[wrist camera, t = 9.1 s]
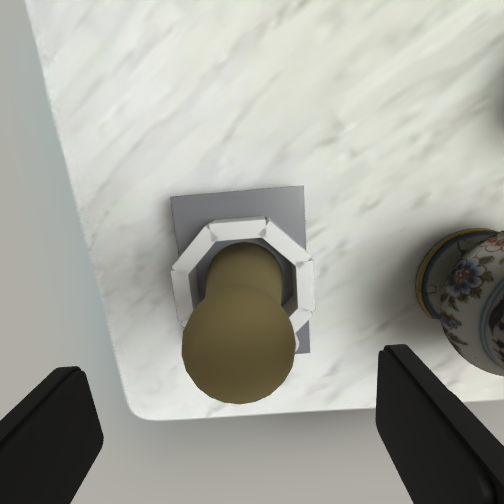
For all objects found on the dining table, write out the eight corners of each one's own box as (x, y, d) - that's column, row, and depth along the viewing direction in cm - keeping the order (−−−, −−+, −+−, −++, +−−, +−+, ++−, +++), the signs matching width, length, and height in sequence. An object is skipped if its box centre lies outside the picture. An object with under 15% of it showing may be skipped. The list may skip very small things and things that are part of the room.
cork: (282, 240, 21) (313, 293, 10) (283, 312, 22) (311, 427, 11) (204, 243, 21) (152, 299, 10) (210, 314, 22) (169, 431, 11)
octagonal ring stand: (183, 195, 24) (158, 197, 18) (295, 186, 24) (310, 184, 17) (202, 336, 27) (187, 380, 21) (301, 329, 27) (316, 372, 20)
